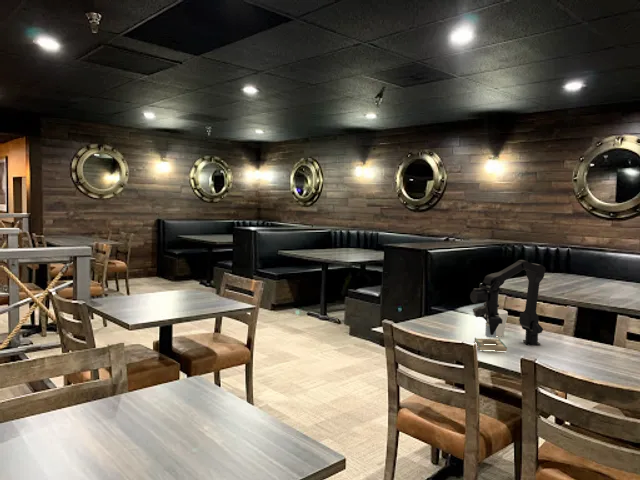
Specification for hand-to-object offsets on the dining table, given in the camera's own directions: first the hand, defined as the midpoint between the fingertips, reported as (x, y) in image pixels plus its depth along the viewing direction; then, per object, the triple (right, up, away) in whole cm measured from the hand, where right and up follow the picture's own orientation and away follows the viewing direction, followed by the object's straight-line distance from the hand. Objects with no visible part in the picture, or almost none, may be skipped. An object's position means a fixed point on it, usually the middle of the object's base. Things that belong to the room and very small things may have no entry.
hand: (490, 333), depth 233 cm
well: (0, -7, +1) cm, 7 cm away
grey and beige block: (0, -1, 0) cm, 1 cm away
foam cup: (+10, -5, +20) cm, 24 cm away
